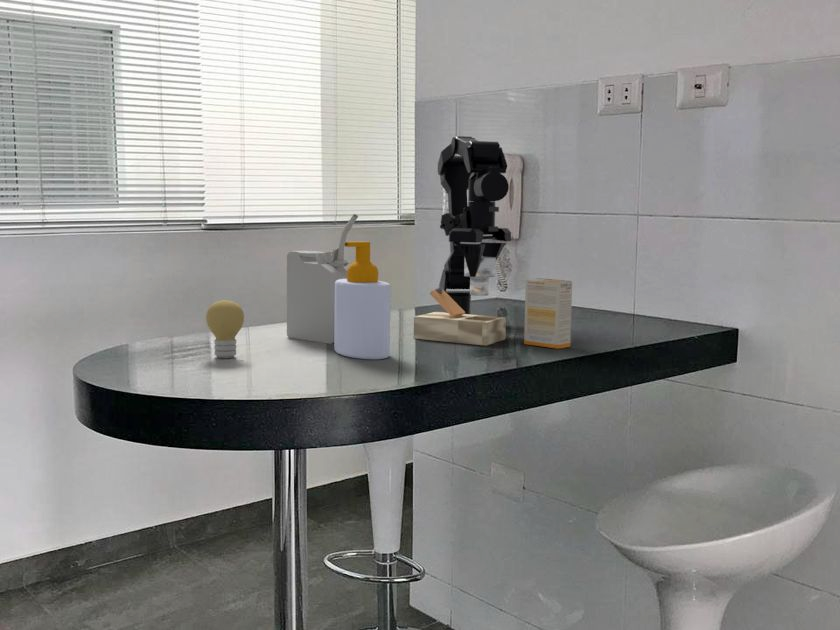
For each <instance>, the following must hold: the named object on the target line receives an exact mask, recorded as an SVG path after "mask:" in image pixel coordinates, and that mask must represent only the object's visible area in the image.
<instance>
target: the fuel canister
mask: <svg viewBox="0 0 840 630" xmlns="http://www.w3.org/2000/svg"><path fill="white" fill-rule="evenodd" d="M358 218H359V216H358V215H357V214H355V213H354V214H352V215H351V217H350V218H349V220H348V221H347V223H346V224H345V226H344V227H343V229H342V232H341V236H340V242H339V245H338V247H336V248H335V249H332V251H314V250H291V251H289V252H288V253H287V255H286V336H287V338H290V339H294V340H295V339H296V340H302V341H309V342H315V343H316V342H317V343H324V344H328V345H334V319H335V281H336V280H339V279H347V270H348V269H346V268H345V267H346V266H348V265H349V264H352V261H350V260H347V259H346V260H345V259H344V258H345V249H344V248H345V242H347V241H346V240H347V235H348V233H349V232H350V231H351V229H352V228H353V225H354V224H355V223H356V221H357V219H358Z"/></svg>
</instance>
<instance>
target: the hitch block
mask: <svg viewBox="0 0 840 630" xmlns="http://www.w3.org/2000/svg"><path fill="white" fill-rule="evenodd" d="M506 325H507V317H505V316H504V317H503V316H496V315H495V316H494V315H481V314H471V313H470V314H464V315H461V316H457V317H452V316H451V315H450V314H449V313H446V311H445V312H443V311H433V312H428V313H425V314H424V313H423V314H419V315H414V316H413V339H414V340H416V339H417V340H424V341H425V340H426V341H434V342H435V341H438V342H446V343H454V344H455V343H456V344H465V345H467V344H468V345H476V346H489V345H493V344H495V343H497V342H498V343H499V342H501V341H504V340H506V331H507V330H506V329H507V326H506Z"/></svg>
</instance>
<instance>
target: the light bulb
mask: <svg viewBox="0 0 840 630" xmlns="http://www.w3.org/2000/svg"><path fill="white" fill-rule="evenodd" d="M205 316H206V317H205V320H206V324H207V327H208V329H209V331H210V332H211V333H212V334H213V335H214V338H215V339H214V340H213V342H214V345H213V347H214V351H213V352H214V355H215V356H216V357H217V358H218V359H232V358H234V357H235V356H237V339H236V336H237V334H239V332H240V331H241V329H242V327H243V326H244V322H245V313H244V310H243V308H242V307H241V305H240V304H238V303H236V302H235V301H233V300H226V299H222V300H219V301H215V302H213V303H212V304H211V305H209V307H208V309H207V311H206V315H205Z"/></svg>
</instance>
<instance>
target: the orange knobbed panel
mask: <svg viewBox="0 0 840 630" xmlns="http://www.w3.org/2000/svg"><path fill="white" fill-rule="evenodd" d="M429 295H430V296H431V297H432V298H433V299H434V300H435V301H436V302H437V304H439V305H440V306H441V308H443V309H444V310H445V312H446V311H447V312H448V313H449V314H450V315H451V316H452V317H457V316H461V315H464V313H465V311H464V310H463V309H462V308H461V307H460V306H459V305H458V304H457V303H456V302H455V301H454V300H453V299H452V298H451V297H450V296H449V295H448V294H447V293H446V292H445V291H444V290H443V289H441V288H440V287H435V289H434V290H431V291H430V292H429Z"/></svg>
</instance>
